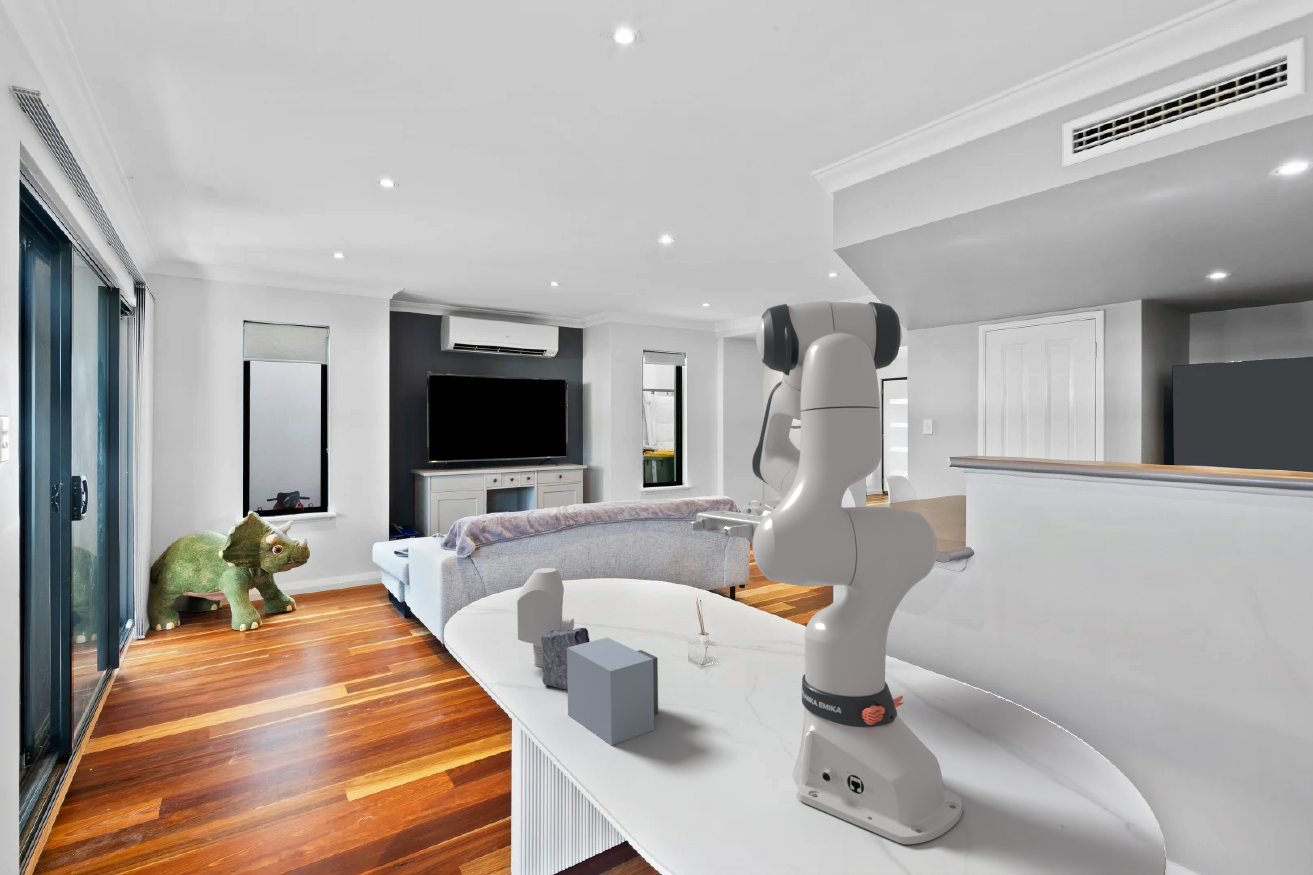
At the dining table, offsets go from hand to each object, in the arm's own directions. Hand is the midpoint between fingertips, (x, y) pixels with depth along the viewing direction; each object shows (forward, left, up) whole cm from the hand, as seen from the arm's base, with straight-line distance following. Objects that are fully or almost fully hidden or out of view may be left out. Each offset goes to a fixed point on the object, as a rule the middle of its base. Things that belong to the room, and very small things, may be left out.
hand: (709, 529), depth 123 cm
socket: (+2, +22, -31) cm, 38 cm away
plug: (+2, +17, -31) cm, 36 cm away
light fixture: (+34, +17, -31) cm, 49 cm away
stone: (+22, +19, -32) cm, 43 cm away
